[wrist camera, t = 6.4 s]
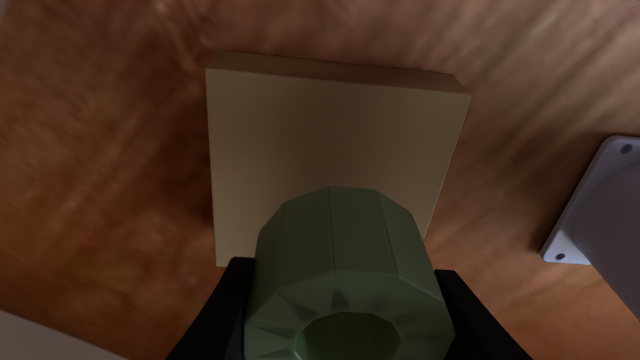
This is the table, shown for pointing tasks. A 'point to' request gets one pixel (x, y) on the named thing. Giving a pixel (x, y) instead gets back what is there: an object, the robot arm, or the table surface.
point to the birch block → (323, 137)
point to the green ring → (344, 283)
